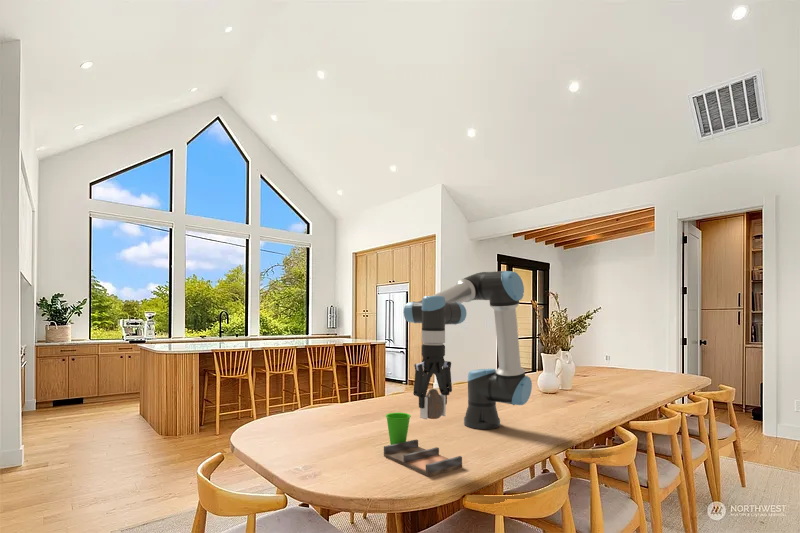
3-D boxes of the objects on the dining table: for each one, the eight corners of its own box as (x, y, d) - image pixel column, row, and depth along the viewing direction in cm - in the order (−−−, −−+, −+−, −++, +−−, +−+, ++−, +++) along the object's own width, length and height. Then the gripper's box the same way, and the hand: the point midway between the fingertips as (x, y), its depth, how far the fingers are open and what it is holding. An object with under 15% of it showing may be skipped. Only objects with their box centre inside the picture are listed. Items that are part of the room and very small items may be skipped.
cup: (396, 441, 175) (396, 411, 176) (415, 446, 170) (415, 415, 171) (380, 447, 168) (380, 415, 169) (399, 452, 163) (400, 419, 164)
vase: (418, 415, 152) (418, 388, 153) (438, 414, 155) (438, 387, 156) (427, 420, 146) (427, 391, 147) (447, 419, 148) (447, 390, 149)
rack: (416, 448, 167) (416, 439, 167) (462, 467, 149) (462, 456, 149) (383, 456, 159) (383, 446, 159) (427, 476, 140) (427, 465, 141)
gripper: (448, 341, 161) (448, 410, 159) (401, 344, 149) (401, 418, 148) (463, 343, 155) (463, 415, 153) (416, 346, 143) (416, 423, 142)
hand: (433, 416), depth 151 cm, fingers closed on vase, 7 cm apart
